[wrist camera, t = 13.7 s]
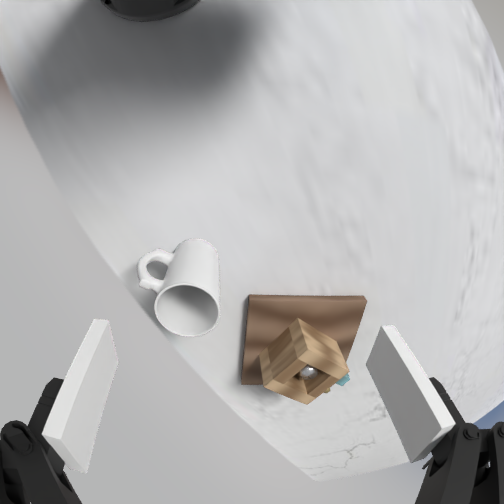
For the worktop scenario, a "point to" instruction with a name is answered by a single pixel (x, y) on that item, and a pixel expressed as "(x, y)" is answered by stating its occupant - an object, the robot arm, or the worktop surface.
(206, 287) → the mug
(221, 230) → the worktop surface
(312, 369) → the post
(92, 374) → the robot arm
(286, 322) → the base board
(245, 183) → the worktop surface
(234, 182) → the worktop surface
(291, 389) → the hollow wooden frame
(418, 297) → the worktop surface
